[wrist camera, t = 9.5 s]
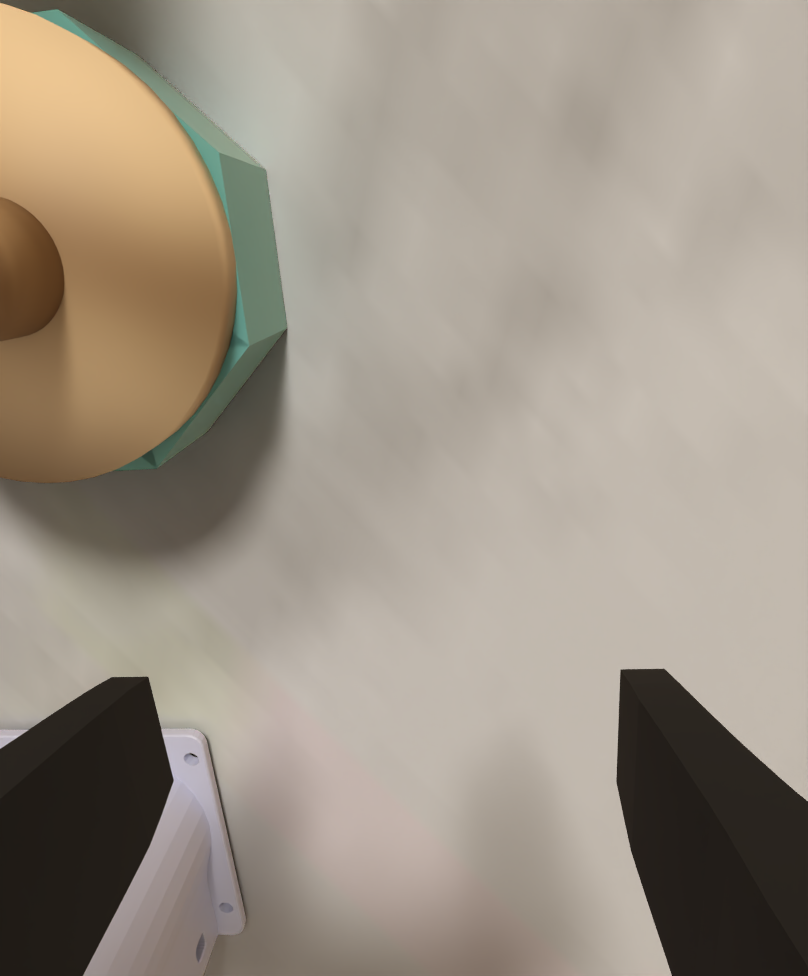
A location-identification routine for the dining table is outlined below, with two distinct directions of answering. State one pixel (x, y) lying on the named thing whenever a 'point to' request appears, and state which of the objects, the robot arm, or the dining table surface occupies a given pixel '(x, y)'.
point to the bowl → (251, 238)
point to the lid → (100, 260)
